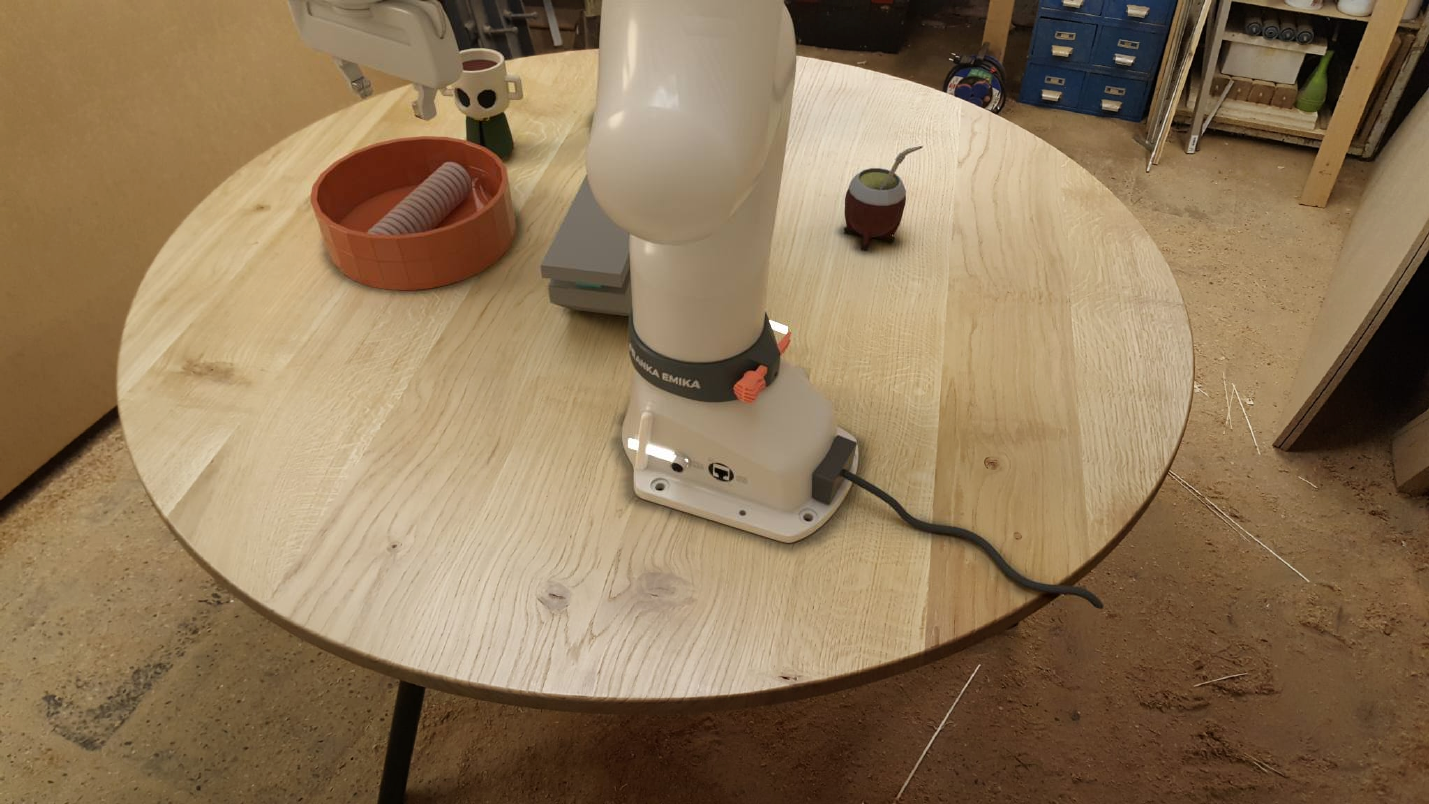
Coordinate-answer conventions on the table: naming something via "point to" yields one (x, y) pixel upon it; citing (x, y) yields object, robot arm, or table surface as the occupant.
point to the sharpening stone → (589, 260)
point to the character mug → (485, 99)
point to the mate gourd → (876, 203)
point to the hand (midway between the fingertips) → (394, 106)
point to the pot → (385, 178)
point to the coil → (427, 202)
